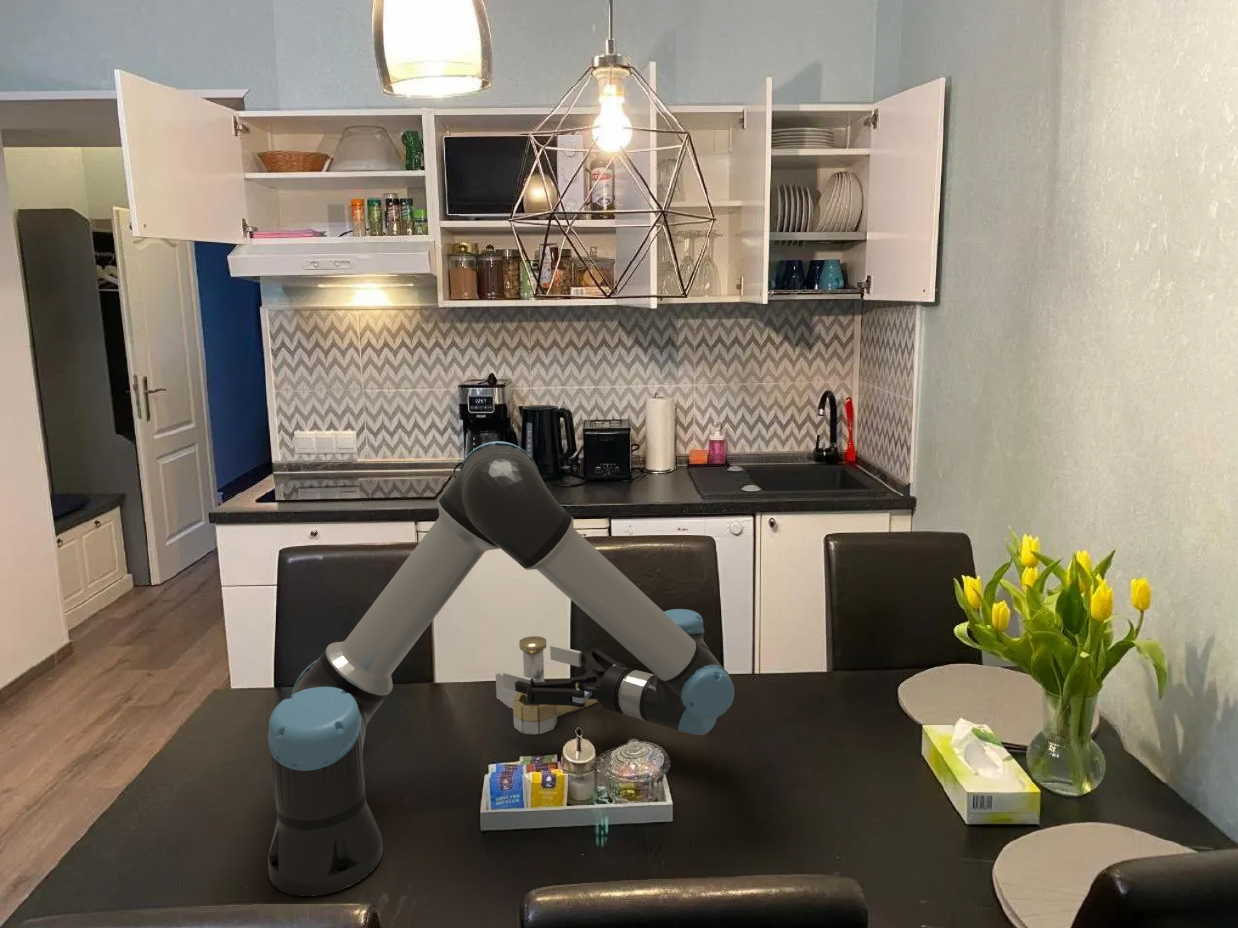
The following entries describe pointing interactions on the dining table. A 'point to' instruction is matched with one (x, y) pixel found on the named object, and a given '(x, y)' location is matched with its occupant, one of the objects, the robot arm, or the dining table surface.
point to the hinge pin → (533, 659)
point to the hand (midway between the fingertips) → (528, 665)
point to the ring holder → (532, 710)
